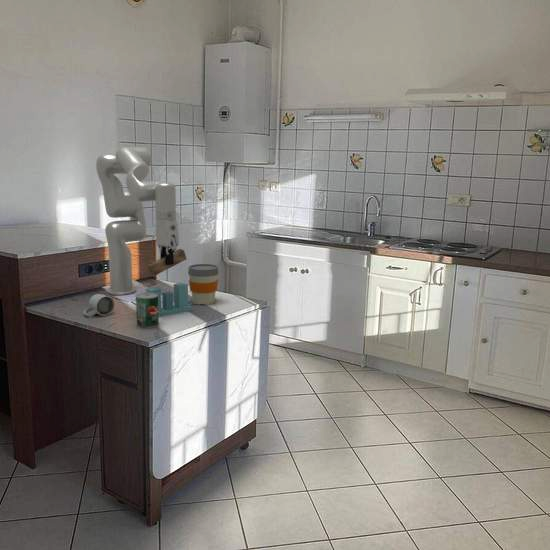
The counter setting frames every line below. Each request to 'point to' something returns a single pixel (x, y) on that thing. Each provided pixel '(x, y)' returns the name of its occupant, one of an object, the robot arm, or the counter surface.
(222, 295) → the counter surface
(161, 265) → the walnut bar
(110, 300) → the ceramic mug
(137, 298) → the canned tomato
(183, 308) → the display stand
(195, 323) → the counter surface
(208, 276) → the reusable coffee cup
